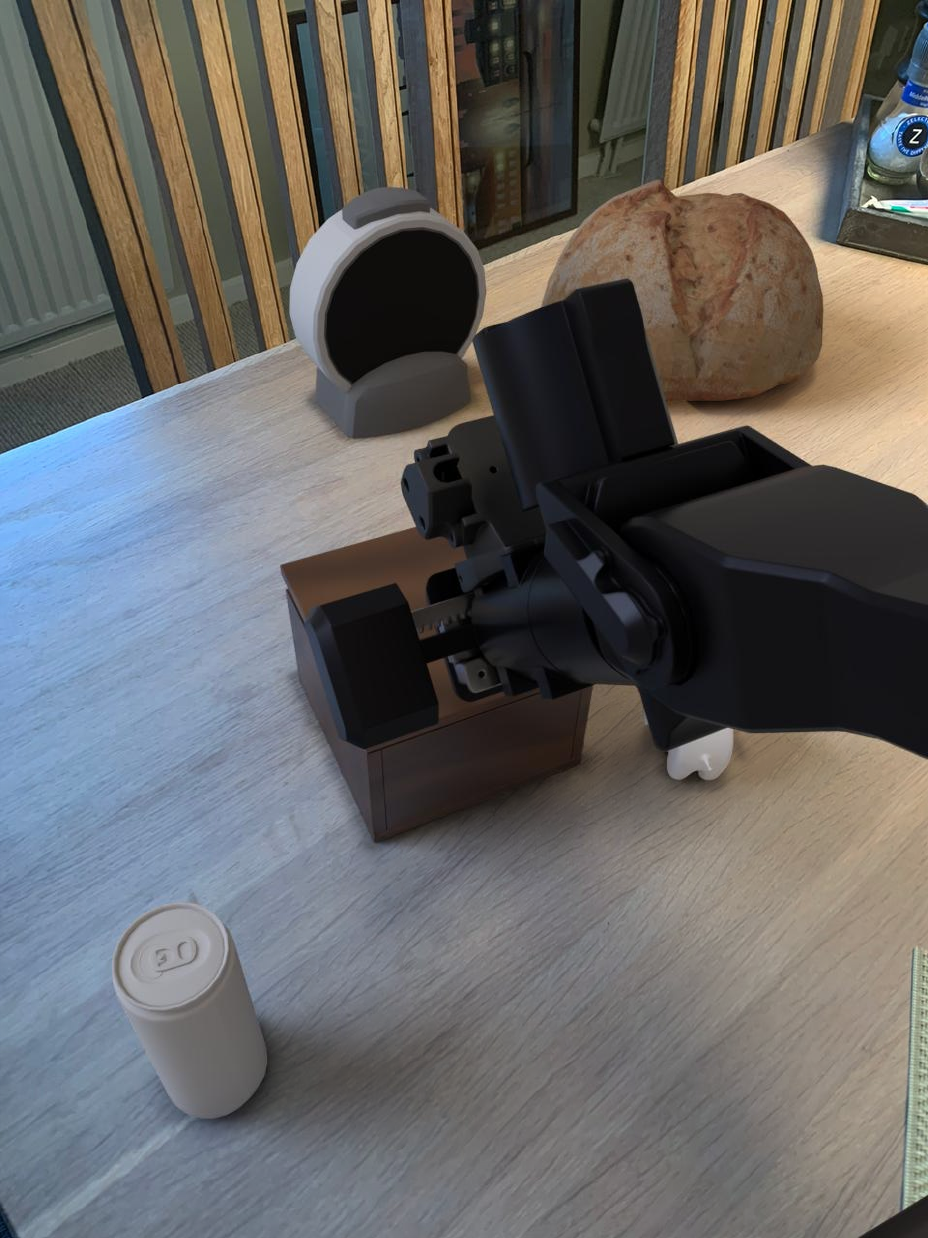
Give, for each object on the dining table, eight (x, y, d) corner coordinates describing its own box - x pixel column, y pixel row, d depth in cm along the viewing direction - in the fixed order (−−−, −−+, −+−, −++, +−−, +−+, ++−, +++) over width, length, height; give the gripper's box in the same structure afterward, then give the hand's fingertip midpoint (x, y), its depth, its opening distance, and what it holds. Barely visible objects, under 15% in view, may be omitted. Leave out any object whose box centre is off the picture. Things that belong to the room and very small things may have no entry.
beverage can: (159, 1040, 49) (101, 920, 40) (257, 1007, 50) (220, 883, 41) (175, 1139, 46) (115, 1031, 37) (279, 1101, 47) (244, 988, 38)
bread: (796, 305, 103) (837, 156, 93) (831, 432, 87) (885, 268, 76) (543, 288, 105) (554, 140, 94) (530, 410, 89) (542, 247, 78)
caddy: (299, 680, 65) (285, 589, 60) (484, 621, 70) (488, 530, 64) (374, 843, 57) (366, 754, 51) (580, 764, 61) (595, 674, 55)
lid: (280, 573, 59) (279, 564, 59) (484, 515, 64) (485, 506, 63) (366, 754, 51) (366, 744, 50) (595, 673, 55) (597, 664, 55)
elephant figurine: (729, 705, 65) (749, 642, 60) (755, 808, 59) (779, 746, 55) (625, 704, 65) (639, 640, 60) (641, 807, 59) (657, 745, 55)
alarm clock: (336, 453, 83) (318, 241, 71) (287, 395, 90) (262, 190, 77) (499, 401, 89) (509, 198, 77) (442, 350, 96) (443, 154, 83)
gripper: (744, 347, 39) (578, 434, 54) (294, 458, 34) (246, 521, 48) (819, 615, 40) (635, 628, 55) (389, 770, 34) (313, 738, 49)
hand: (466, 624), depth 52 cm, fingers closed
